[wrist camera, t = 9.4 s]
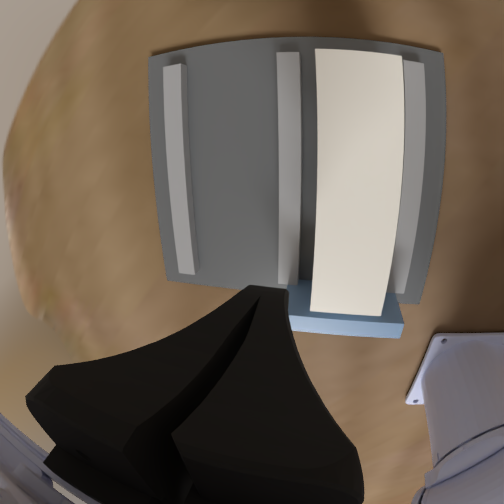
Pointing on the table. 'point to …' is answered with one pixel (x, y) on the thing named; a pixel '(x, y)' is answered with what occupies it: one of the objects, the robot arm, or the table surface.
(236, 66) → the board
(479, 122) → the table surface
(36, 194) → the table surface
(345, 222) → the cream rectangular block
